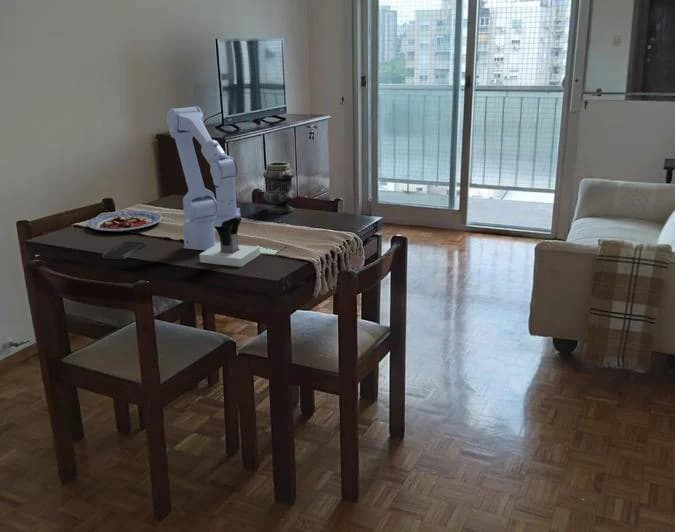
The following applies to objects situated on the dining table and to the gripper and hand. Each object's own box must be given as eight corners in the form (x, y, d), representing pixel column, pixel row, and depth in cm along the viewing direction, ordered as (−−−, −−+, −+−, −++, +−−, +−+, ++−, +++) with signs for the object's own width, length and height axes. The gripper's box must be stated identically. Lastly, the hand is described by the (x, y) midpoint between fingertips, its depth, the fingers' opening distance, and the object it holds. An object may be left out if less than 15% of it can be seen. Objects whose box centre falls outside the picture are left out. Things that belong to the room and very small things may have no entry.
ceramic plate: (135, 238, 235) (134, 230, 234) (72, 232, 243) (71, 224, 242) (176, 219, 258) (175, 211, 257) (117, 214, 266) (116, 207, 265)
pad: (248, 252, 218) (248, 251, 218) (261, 244, 226) (261, 243, 225) (274, 255, 215) (274, 253, 214) (286, 246, 222) (286, 245, 222)
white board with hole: (200, 262, 209) (199, 254, 209) (220, 250, 220) (219, 242, 219) (241, 266, 205) (240, 258, 204) (259, 254, 215) (259, 247, 214)
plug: (221, 258, 211) (219, 236, 209) (226, 254, 215) (225, 232, 212) (233, 259, 210) (232, 237, 208) (238, 255, 214) (237, 233, 211)
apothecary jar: (299, 206, 272) (298, 160, 266) (290, 214, 260) (288, 166, 255) (270, 205, 274) (268, 160, 268) (260, 213, 263) (257, 166, 257)
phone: (147, 243, 227) (122, 257, 213) (147, 246, 227) (122, 260, 213) (125, 241, 229) (99, 255, 215) (125, 244, 229) (100, 258, 215)
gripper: (228, 206, 199) (231, 251, 203) (248, 194, 212) (250, 237, 216) (206, 204, 201) (209, 249, 205) (226, 193, 214) (229, 235, 218)
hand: (229, 243), depth 211 cm, fingers closed on plug, 4 cm apart
